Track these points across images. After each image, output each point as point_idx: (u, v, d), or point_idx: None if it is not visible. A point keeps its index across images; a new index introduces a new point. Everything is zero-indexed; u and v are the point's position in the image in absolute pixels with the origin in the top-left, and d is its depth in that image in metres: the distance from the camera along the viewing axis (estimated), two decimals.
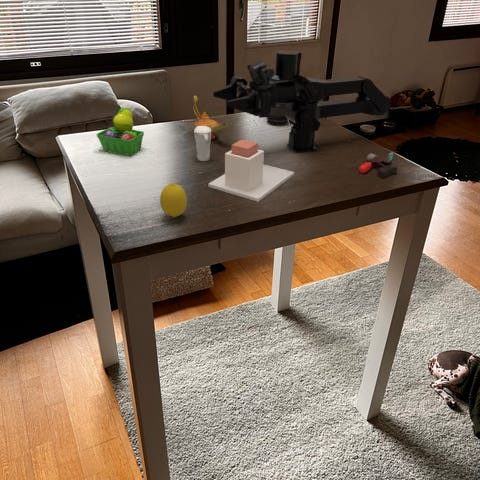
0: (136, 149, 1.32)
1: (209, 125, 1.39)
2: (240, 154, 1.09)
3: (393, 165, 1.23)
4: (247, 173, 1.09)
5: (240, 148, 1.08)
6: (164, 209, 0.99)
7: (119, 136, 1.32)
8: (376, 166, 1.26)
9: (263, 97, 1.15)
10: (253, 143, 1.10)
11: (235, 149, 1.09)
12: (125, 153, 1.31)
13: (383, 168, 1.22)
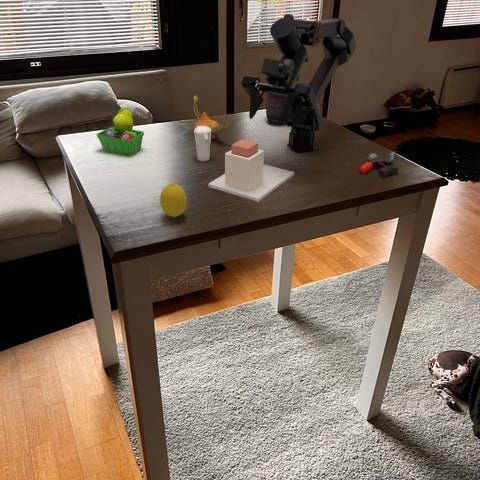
0: (136, 149, 1.32)
1: (209, 125, 1.39)
2: (240, 154, 1.09)
3: (394, 165, 1.23)
4: (247, 173, 1.09)
5: (240, 148, 1.08)
6: (164, 209, 0.99)
7: (119, 136, 1.32)
8: (377, 166, 1.26)
9: (309, 94, 1.10)
10: (253, 143, 1.10)
11: (235, 149, 1.09)
12: (125, 153, 1.31)
13: (384, 168, 1.22)
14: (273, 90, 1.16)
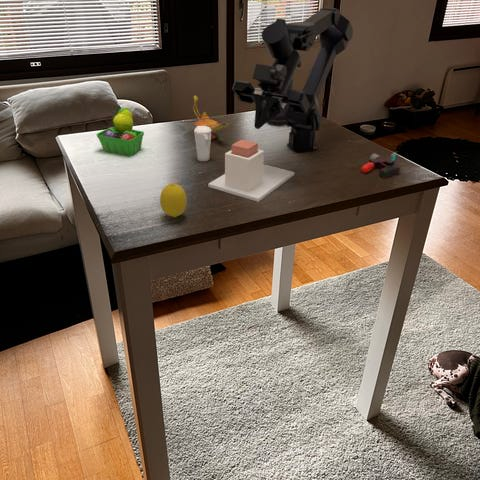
0: (136, 149, 1.32)
1: (209, 125, 1.39)
2: (240, 154, 1.09)
3: (395, 165, 1.23)
4: (247, 173, 1.09)
5: (240, 148, 1.08)
6: (164, 209, 0.99)
7: (119, 136, 1.32)
8: (379, 166, 1.26)
9: (302, 101, 1.07)
10: (253, 143, 1.10)
11: (235, 149, 1.09)
12: (125, 153, 1.31)
13: (385, 168, 1.22)
14: (265, 96, 1.13)
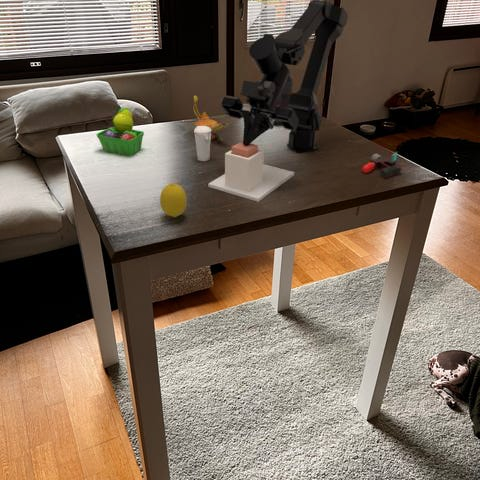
0: (136, 149, 1.32)
1: (209, 125, 1.39)
2: None
3: (397, 166, 1.23)
4: (247, 173, 1.09)
5: (240, 150, 1.09)
6: (164, 209, 0.99)
7: (119, 136, 1.32)
8: (380, 166, 1.26)
9: (291, 118, 1.05)
10: (253, 145, 1.11)
11: (235, 151, 1.10)
12: (125, 153, 1.31)
13: (386, 168, 1.21)
14: (254, 112, 1.11)
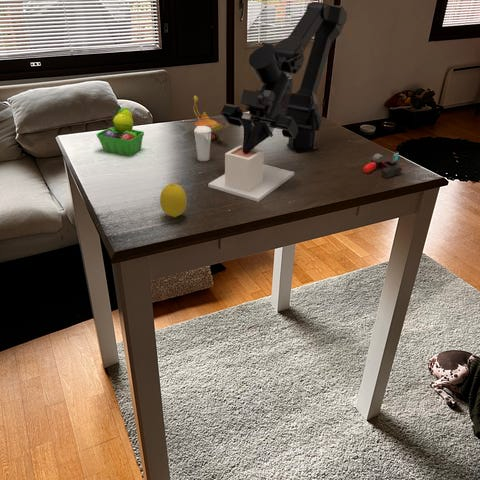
0: (136, 149, 1.32)
1: (209, 125, 1.39)
2: None
3: (398, 166, 1.23)
4: (247, 173, 1.09)
5: None
6: (164, 209, 0.99)
7: (119, 136, 1.32)
8: (381, 166, 1.26)
9: (290, 126, 1.06)
10: (253, 153, 1.12)
11: None
12: (125, 153, 1.31)
13: (387, 168, 1.21)
14: (254, 120, 1.12)
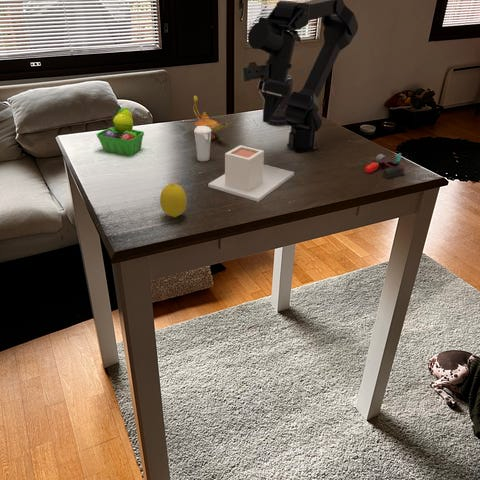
0: (136, 149, 1.32)
1: (209, 125, 1.39)
2: None
3: (400, 166, 1.23)
4: (247, 173, 1.09)
5: None
6: (164, 209, 0.99)
7: (119, 136, 1.32)
8: (383, 167, 1.25)
9: (267, 89, 1.09)
10: (253, 153, 1.12)
11: None
12: (125, 153, 1.31)
13: (389, 169, 1.21)
14: None
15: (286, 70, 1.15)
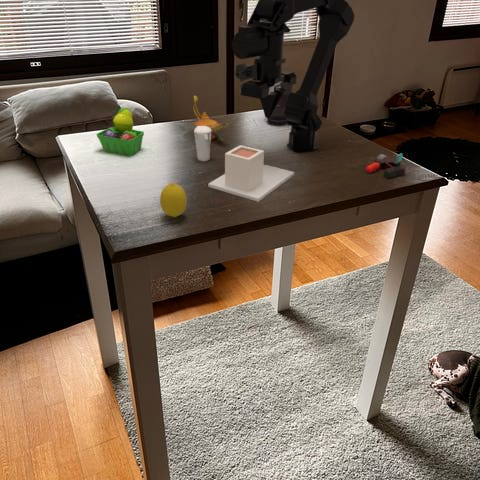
0: (136, 149, 1.32)
1: (209, 125, 1.39)
2: None
3: (401, 166, 1.23)
4: (247, 173, 1.09)
5: None
6: (164, 209, 0.99)
7: (119, 136, 1.32)
8: (384, 167, 1.25)
9: (242, 93, 1.13)
10: (253, 153, 1.12)
11: None
12: (125, 153, 1.31)
13: (390, 169, 1.21)
14: None
15: (273, 67, 1.14)
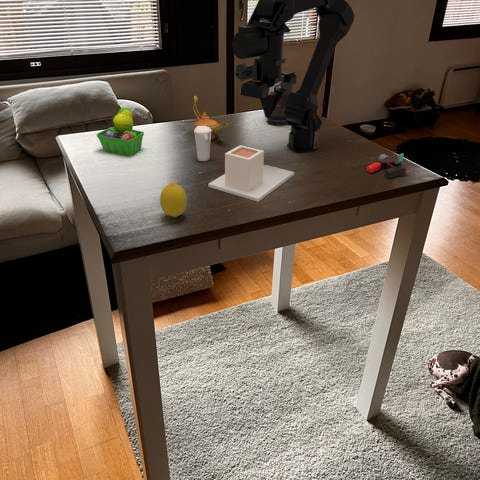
0: (136, 149, 1.32)
1: (209, 125, 1.39)
2: None
3: (402, 166, 1.23)
4: (247, 173, 1.09)
5: None
6: (164, 209, 0.99)
7: (119, 136, 1.32)
8: (385, 167, 1.25)
9: (242, 93, 1.13)
10: (253, 153, 1.12)
11: None
12: (125, 153, 1.31)
13: (391, 169, 1.21)
14: None
15: (273, 67, 1.14)
